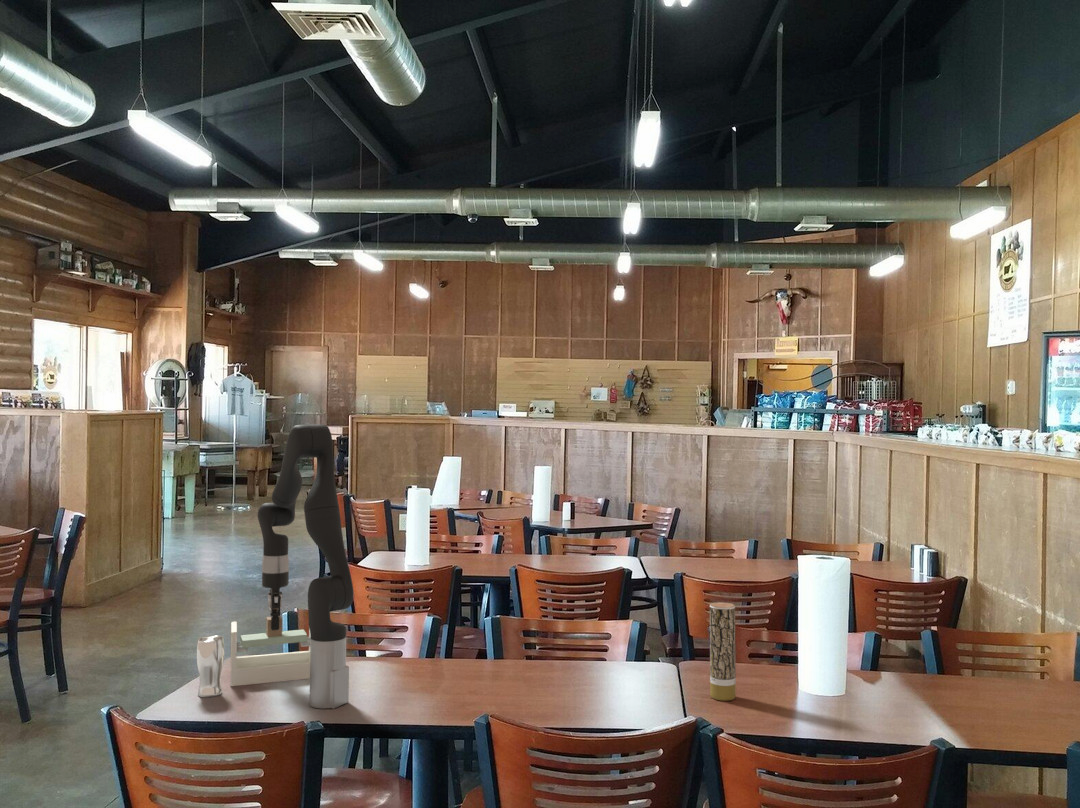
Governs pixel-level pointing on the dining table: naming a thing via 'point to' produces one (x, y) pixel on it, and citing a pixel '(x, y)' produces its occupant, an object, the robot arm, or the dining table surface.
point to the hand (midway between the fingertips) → (274, 627)
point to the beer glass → (210, 665)
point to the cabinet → (267, 664)
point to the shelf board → (273, 636)
